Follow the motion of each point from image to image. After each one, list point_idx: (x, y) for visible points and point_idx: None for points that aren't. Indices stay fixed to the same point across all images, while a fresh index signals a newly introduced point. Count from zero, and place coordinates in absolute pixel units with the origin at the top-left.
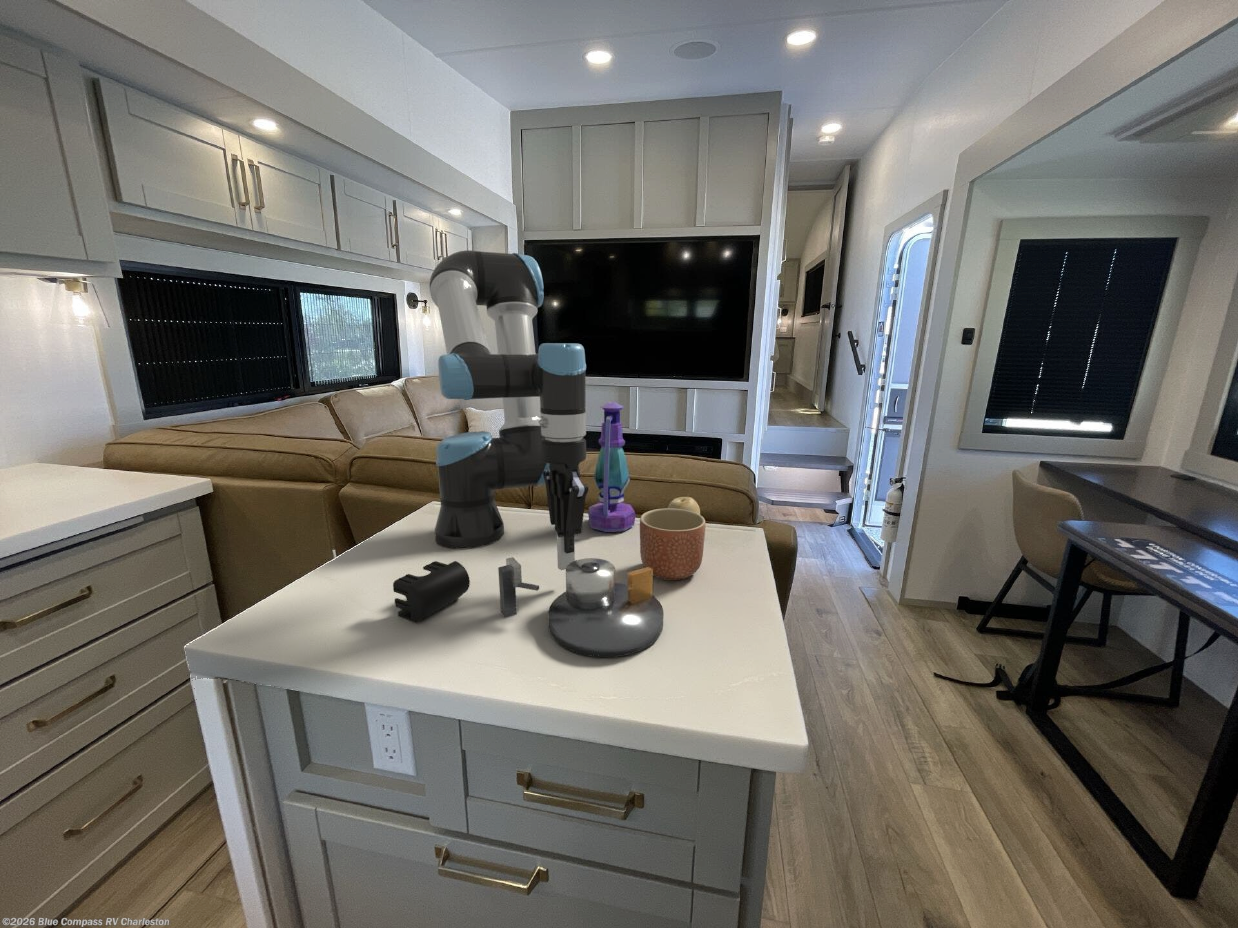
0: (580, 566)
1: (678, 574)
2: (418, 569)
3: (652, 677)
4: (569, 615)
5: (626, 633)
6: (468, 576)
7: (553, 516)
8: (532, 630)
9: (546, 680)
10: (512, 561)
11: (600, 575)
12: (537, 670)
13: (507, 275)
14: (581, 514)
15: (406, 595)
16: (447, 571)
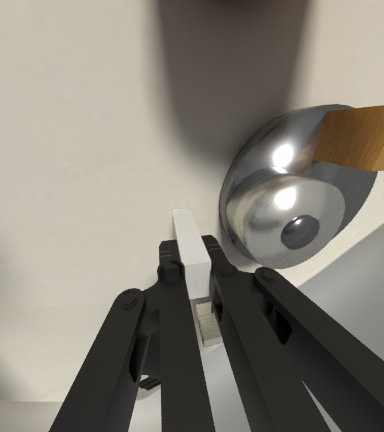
0: (277, 244)
1: None
2: (41, 347)
3: (373, 194)
4: None
5: (351, 202)
6: (151, 336)
7: (144, 356)
8: (243, 263)
9: (304, 265)
10: (219, 340)
11: (329, 225)
12: (291, 269)
13: None
14: (369, 361)
15: None
16: (155, 366)
